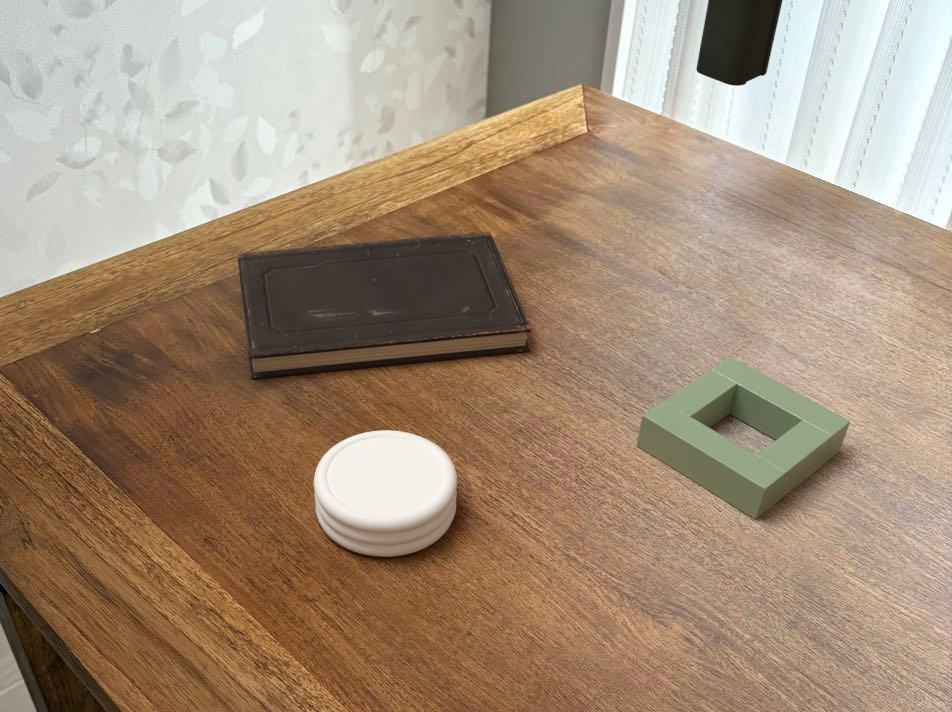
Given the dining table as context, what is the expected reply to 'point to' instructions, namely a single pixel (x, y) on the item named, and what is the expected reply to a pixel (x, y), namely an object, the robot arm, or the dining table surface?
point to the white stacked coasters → (385, 493)
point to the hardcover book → (378, 304)
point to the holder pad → (728, 464)
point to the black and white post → (737, 39)
